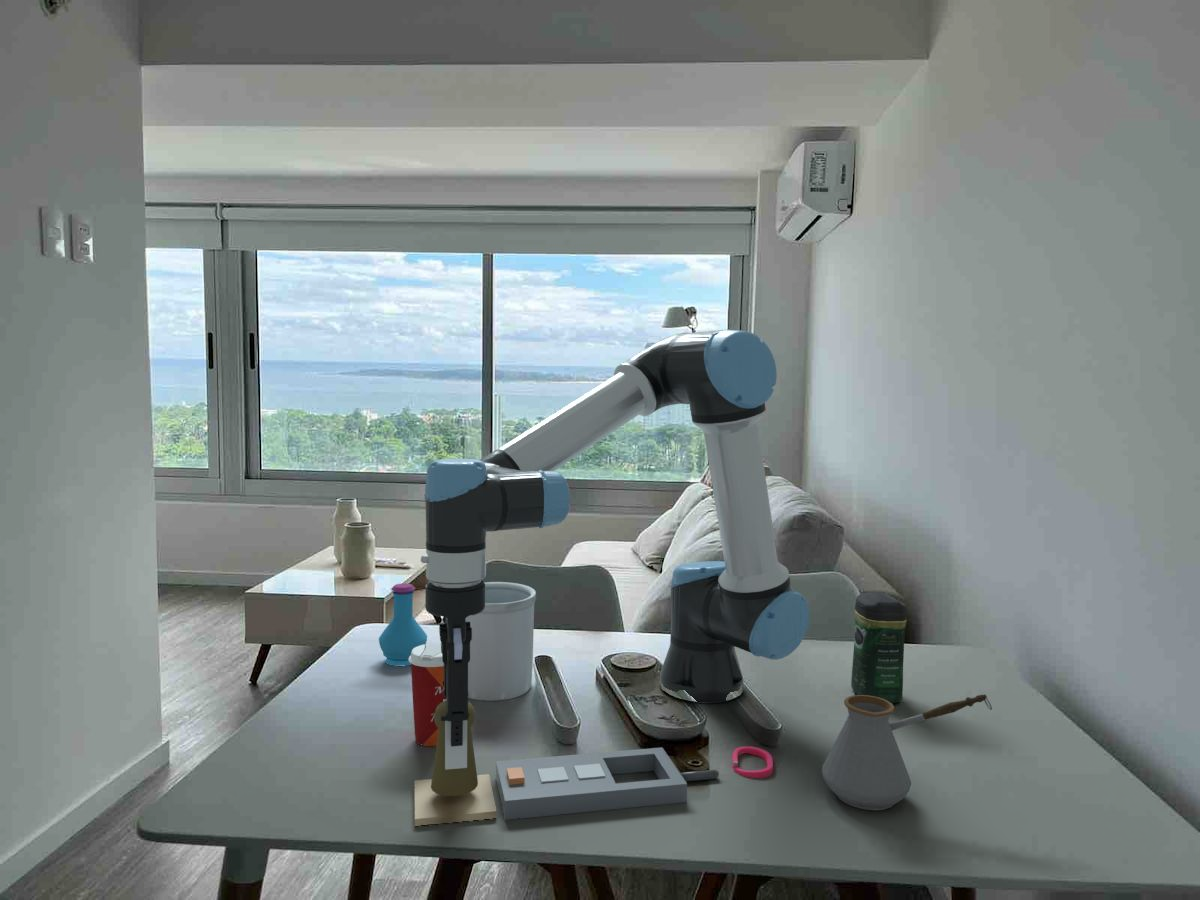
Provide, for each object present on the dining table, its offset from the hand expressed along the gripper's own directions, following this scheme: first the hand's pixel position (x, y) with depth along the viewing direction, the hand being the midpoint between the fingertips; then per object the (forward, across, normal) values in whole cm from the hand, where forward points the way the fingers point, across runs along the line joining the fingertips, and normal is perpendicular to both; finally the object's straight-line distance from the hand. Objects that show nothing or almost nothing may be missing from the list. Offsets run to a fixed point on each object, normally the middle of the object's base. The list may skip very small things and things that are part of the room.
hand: (454, 756), depth 106 cm
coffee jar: (+7, -24, +76) cm, 80 cm away
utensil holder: (+6, -40, +9) cm, 41 cm away
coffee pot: (+7, +10, +59) cm, 60 cm away
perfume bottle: (+6, -57, -7) cm, 58 cm away
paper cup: (+6, -20, -2) cm, 21 cm away
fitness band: (+7, -3, +43) cm, 44 cm away
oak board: (+6, 0, 0) cm, 6 cm away
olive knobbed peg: (+4, 0, 0) cm, 4 cm away
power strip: (+6, 0, +21) cm, 22 cm away
